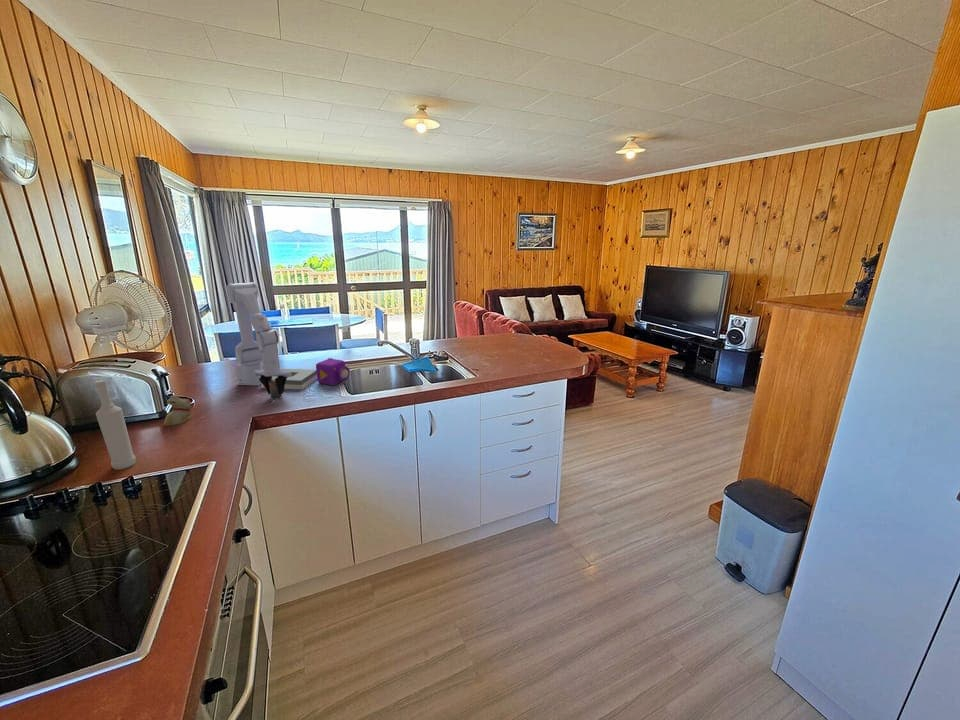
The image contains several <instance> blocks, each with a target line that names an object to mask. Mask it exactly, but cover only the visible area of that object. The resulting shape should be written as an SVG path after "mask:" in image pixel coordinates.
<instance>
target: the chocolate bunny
mask: <svg viewBox="0 0 960 720" xmlns="http://www.w3.org/2000/svg"><path fill="white" fill-rule="evenodd" d="M169 397H170V398H169V399H167V400H166V403H167V404H168V405H170V406H171V407H172V411H170V412H168V413H167V414H166V416H165V419H164V422H163V426H164V427H171V426H175V425H180V424H183V423H186V422H188V421H190V419H191V416H190V414H191V412H192V410H191V403H190V401H189V400H188V399H183V398H180V397H178V396H177V395H174V394H171V395H170V396H169Z"/></svg>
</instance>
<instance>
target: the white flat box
mask: <svg viewBox="0 0 960 720" xmlns="http://www.w3.org/2000/svg"><path fill="white" fill-rule="evenodd" d="M280 370H285V371H292V376H291V377H287V380H286V382H285V386H284V390H304V389H305V388H307V387H308V386H309V385H311V384H312V383H314V382H315V381H317V380H318V379H317V372H316V369H301V368H300V369H299V368H280ZM276 378H278V376H272V379H276ZM260 386H261V389H266V388H265V387H264V385H263V384H262V383H261V384H260Z"/></svg>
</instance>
